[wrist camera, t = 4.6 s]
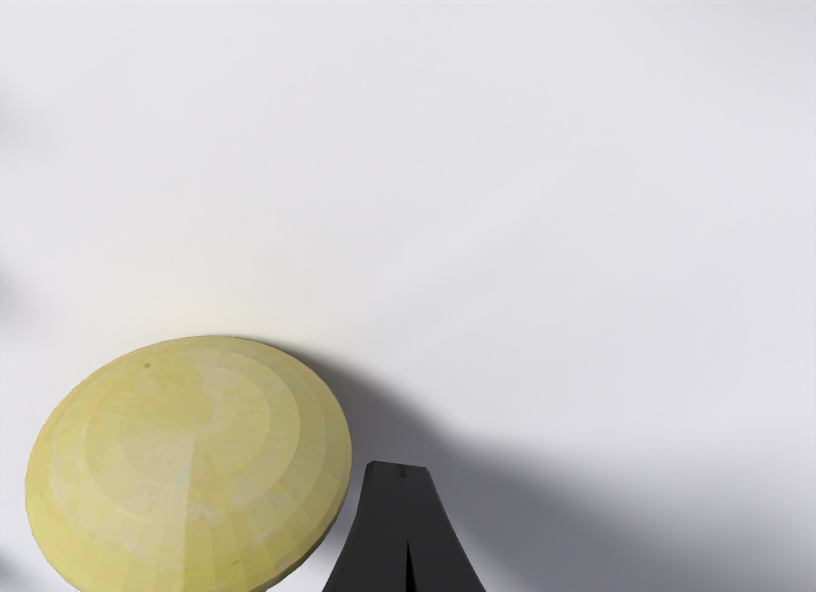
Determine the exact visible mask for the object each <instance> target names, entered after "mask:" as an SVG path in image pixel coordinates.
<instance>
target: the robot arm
mask: <svg viewBox="0 0 816 592" xmlns="http://www.w3.org/2000/svg"><path fill="white" fill-rule="evenodd" d="M322 592H486V590H485V589H484V587H483V585H482V584H481V582H480V580H479V578H478V576H477V575H476V573H475V571H474V569H473V567H472V565H471V563H470V562H469V560H468V558H467V556H466V554H465V552H464V550H463V548H462V546H461V544H460V542H459V540H458V538H457V536H456V534H455V532H454V530H453V528H452V526H451V523H450V521H449V519H448V517H447V514H446V512H445V510H444V508H443V505H442V503H441V501H440V498H439V496H438V493H437V491H436V488H435V486H434V483H433V481H432V478H431V475H430V473H429V471H428V470H427V469H426V467H418V466H410V465H403V464H395V463H387V462H380V461H372V462H371V463H369V464H367V466H366V471H365V475H364V480H363V485H362V490H361V495H360V499H359V504H358V509H357V514H356V517H355V520H354V522H353V525H352V527H351V530H350V532H349V535H348V537H347V540H346V543H345V545H344V547H343V549H342V552H341V554H340V556H339V558H338V560H337V562H336V564H335V566H334V568H333V570H332V572H331V575H330V577H329V579H328V581H327V583H326V585H325V587H324V589H323V591H322Z"/></svg>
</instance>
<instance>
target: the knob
mask: <svg viewBox="0 0 816 592" xmlns="http://www.w3.org/2000/svg"><path fill="white" fill-rule="evenodd" d="M351 470H352V443H351V438H350V433H349V428H348V423H347V420H346V418H345V416H344V413H343V411H342V408H341V406H340V404H339V402H338V400H337V399H336V397H335V396H334V394H333V393H332V391H331V390H330V388H329V387H328V386H327V385H326V383H325V382H324V381H323V380H322V379H321V378H320V377H319V376H318V375H317V374H316V373H315V372H314V371H313V370H311V369H310V368H309V367H307V366H306V365H304V364H303V363H302V362H300V361H299V360H298V359H296V358H294V357H292V356H290V355H288V354H287V353H285V352H283V351H281V350H279V349H276V348H274V347H271V346H268V345H265V344H262V343H259V342H256V341H251V340H246V339H240V338H235V337H223V336H197V337H185V338H179V339H174V340H168V341H163V342H159V343H156V344H153V345H150V346H146V347H143V348H140V349H137V350H135V351H133V352H130V353H128V354H126V355H124V356H121V357H119V358H117V359H115V360H113V361H112V362H110V363H108V364H107V365H105V366H103V367H102V368H100V369H98V370H97V371H95V372H93V373H92V374H91V375H90V376H88V377H87V378H86V379H85V380H84V381H82V382H81V383H80V384H79V385H77V386H76V387H75V388H74V389H72V391H71V392H70V393H69V394H68V395H67V396H66V397H65V398H64V399H63V400H62V401H61V402H60V404H59V405H58V406H57V407H56V408H55V409H54V411H53V412H52V414H51V415H50V417H49V418H48V420H47V421H46V423H45V424H44V426H43V427H42V429H41V430H40V433H39V435H38V437H37V440H36V442H35V444H34V447H33V449H32V451H31V454H30V458H29V463H28V468H27V473H26V477H25V505H26V511H27V515H28V519H29V523H30V527H31V530H32V534H33V536H34V538H35V540H36V542H37V544H38V545H39V547H40V549H41V551H42V553H43V555H44V556H45V558H46V560H47V561H48V562H49V564H50V565H51V566H52V567H53V568H54V569H55V570H56V571H57V572H58V573H59V574H60V575H61V576H62V578H63V579H64V580H65V581H66V582H67V583H69V584H70V585H72V586H73V587H75V588H76V589H78V590H79V591H81V592H266V591H267V589H269V588H271V587H273V586H275V585H276V584H278V583H279V582H280V581H282V580H283V579H284V578H286V577H287V576H288V575H289V574H291V573H292V572H293V571H295V570H296V569H297V568H298V567H300V566H301V565H302V564H303V563H304V562H305V561H306V560H307V558H308V557H309V556H310V555H311V554H312V553H313V552H314V551H315V550H316V549H317V548H318V546H319V545H320V544H321V543H322V541H323V540H324V538H325V537H326V535H327V534H328V532H329V530H330V529H331V527H332V526H333V524H334V523H335V521H336V519H337V517H338V515H339V512H340V510H341V507H342V505H343V502H344V500H345V497H346V495H347V491H348V486H349V480H350V475H351Z"/></svg>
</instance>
